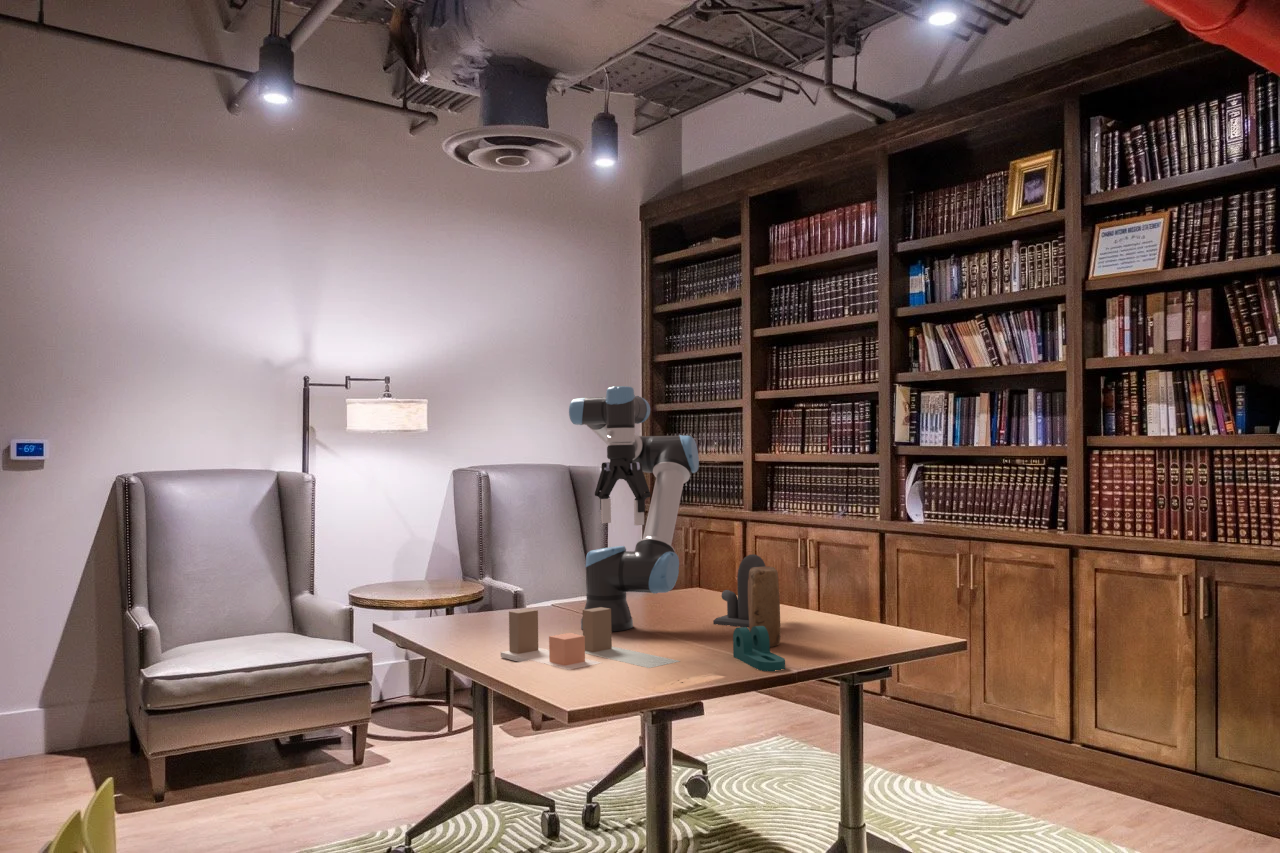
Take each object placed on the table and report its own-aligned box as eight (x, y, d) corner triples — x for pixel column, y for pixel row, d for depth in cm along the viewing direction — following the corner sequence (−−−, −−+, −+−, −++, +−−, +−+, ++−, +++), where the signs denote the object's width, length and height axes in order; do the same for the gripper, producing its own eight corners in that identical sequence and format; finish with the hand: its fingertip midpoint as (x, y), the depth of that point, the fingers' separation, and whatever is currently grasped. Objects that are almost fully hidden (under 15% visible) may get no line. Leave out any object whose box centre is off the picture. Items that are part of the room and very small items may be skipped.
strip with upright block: (574, 655, 241) (573, 610, 241) (605, 649, 247) (604, 605, 248) (649, 673, 220) (648, 623, 220) (680, 666, 226) (679, 618, 227)
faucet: (791, 621, 286) (790, 553, 286) (767, 629, 273) (766, 558, 273) (737, 616, 296) (736, 550, 296) (712, 624, 283) (710, 555, 283)
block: (782, 647, 246) (780, 569, 247) (753, 648, 246) (751, 570, 247) (774, 639, 257) (773, 564, 258) (746, 640, 257) (745, 565, 258)
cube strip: (500, 657, 240) (500, 611, 241) (533, 651, 247) (532, 607, 247) (568, 674, 219) (567, 625, 220) (602, 667, 226) (601, 619, 226)
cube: (549, 661, 228) (549, 636, 228) (569, 657, 232) (569, 632, 232) (564, 665, 224) (564, 639, 224) (585, 661, 228) (584, 636, 228)
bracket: (733, 657, 237) (732, 625, 237) (758, 655, 239) (758, 623, 239) (763, 673, 219) (762, 638, 220) (790, 670, 221) (789, 636, 222)
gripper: (581, 445, 264) (582, 522, 263) (641, 443, 245) (642, 526, 245) (602, 445, 269) (603, 521, 268) (663, 443, 250) (664, 525, 250)
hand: (622, 524), depth 256 cm, fingers open, 13 cm apart
